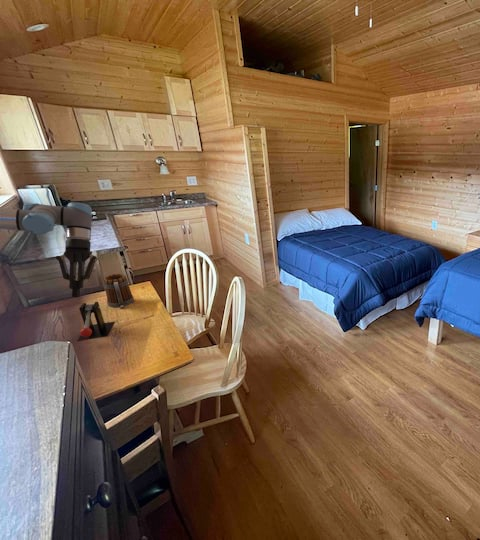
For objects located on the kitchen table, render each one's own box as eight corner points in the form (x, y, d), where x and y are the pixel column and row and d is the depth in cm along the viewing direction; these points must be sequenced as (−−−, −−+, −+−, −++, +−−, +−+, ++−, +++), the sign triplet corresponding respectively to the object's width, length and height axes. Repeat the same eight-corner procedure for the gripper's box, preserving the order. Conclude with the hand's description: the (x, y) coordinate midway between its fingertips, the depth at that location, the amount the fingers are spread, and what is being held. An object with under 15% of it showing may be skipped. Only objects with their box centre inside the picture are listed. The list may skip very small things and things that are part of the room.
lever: (92, 337, 119) (89, 333, 116) (81, 339, 117) (77, 335, 115) (97, 307, 126) (94, 302, 124) (86, 308, 125) (83, 304, 122)
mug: (107, 302, 151) (99, 275, 145) (133, 297, 157) (126, 271, 152) (109, 316, 140) (101, 287, 134) (137, 309, 147) (130, 282, 141)
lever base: (108, 338, 125) (99, 309, 120) (77, 343, 121) (67, 314, 116) (115, 323, 135) (108, 296, 130) (87, 327, 131) (78, 299, 126)
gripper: (101, 242, 130) (99, 296, 126) (61, 242, 124) (58, 298, 121) (95, 238, 123) (93, 295, 120) (52, 237, 117) (49, 297, 114)
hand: (75, 296), depth 120 cm, fingers closed
